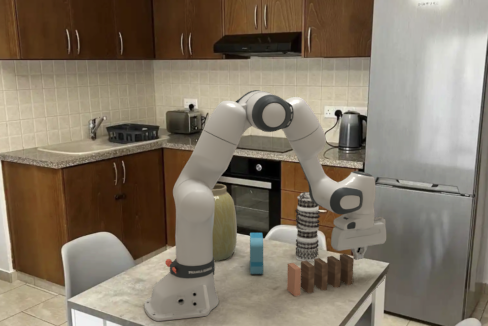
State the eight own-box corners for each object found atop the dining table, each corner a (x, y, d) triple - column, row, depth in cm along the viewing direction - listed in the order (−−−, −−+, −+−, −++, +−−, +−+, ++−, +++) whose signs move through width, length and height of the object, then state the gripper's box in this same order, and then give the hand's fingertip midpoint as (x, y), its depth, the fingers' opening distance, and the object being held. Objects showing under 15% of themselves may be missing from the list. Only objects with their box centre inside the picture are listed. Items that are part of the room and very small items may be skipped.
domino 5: (347, 285, 163) (348, 259, 162) (338, 279, 168) (339, 254, 166) (352, 284, 164) (353, 258, 162) (343, 278, 169) (344, 253, 167)
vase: (188, 249, 196) (186, 183, 191) (229, 244, 201) (229, 180, 196) (197, 265, 180) (195, 193, 175) (242, 260, 185) (242, 190, 180)
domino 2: (308, 293, 157) (309, 267, 156) (300, 287, 162) (301, 261, 160) (313, 292, 158) (314, 266, 157) (305, 286, 163) (306, 260, 161)
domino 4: (334, 287, 161) (335, 262, 160) (326, 281, 166) (327, 256, 164) (339, 286, 162) (340, 261, 160) (331, 280, 167) (332, 255, 165)
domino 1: (294, 296, 156) (295, 269, 154) (287, 289, 160) (287, 263, 158) (300, 295, 156) (300, 268, 155) (292, 288, 161) (293, 262, 159)
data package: (263, 275, 171) (263, 242, 169) (250, 275, 171) (250, 242, 169) (262, 262, 183) (262, 231, 180) (249, 262, 183) (249, 231, 180)
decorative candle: (292, 260, 184) (293, 195, 179) (297, 251, 193) (298, 189, 188) (316, 263, 182) (318, 197, 177) (320, 254, 190) (322, 191, 185)
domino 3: (321, 290, 159) (322, 264, 158) (313, 284, 164) (314, 259, 162) (326, 289, 160) (327, 263, 158) (318, 283, 165) (319, 258, 163)
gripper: (379, 213, 171) (377, 251, 173) (329, 220, 163) (327, 259, 165) (391, 218, 165) (389, 257, 168) (340, 225, 157) (338, 266, 160)
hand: (358, 258), depth 166 cm, fingers closed
